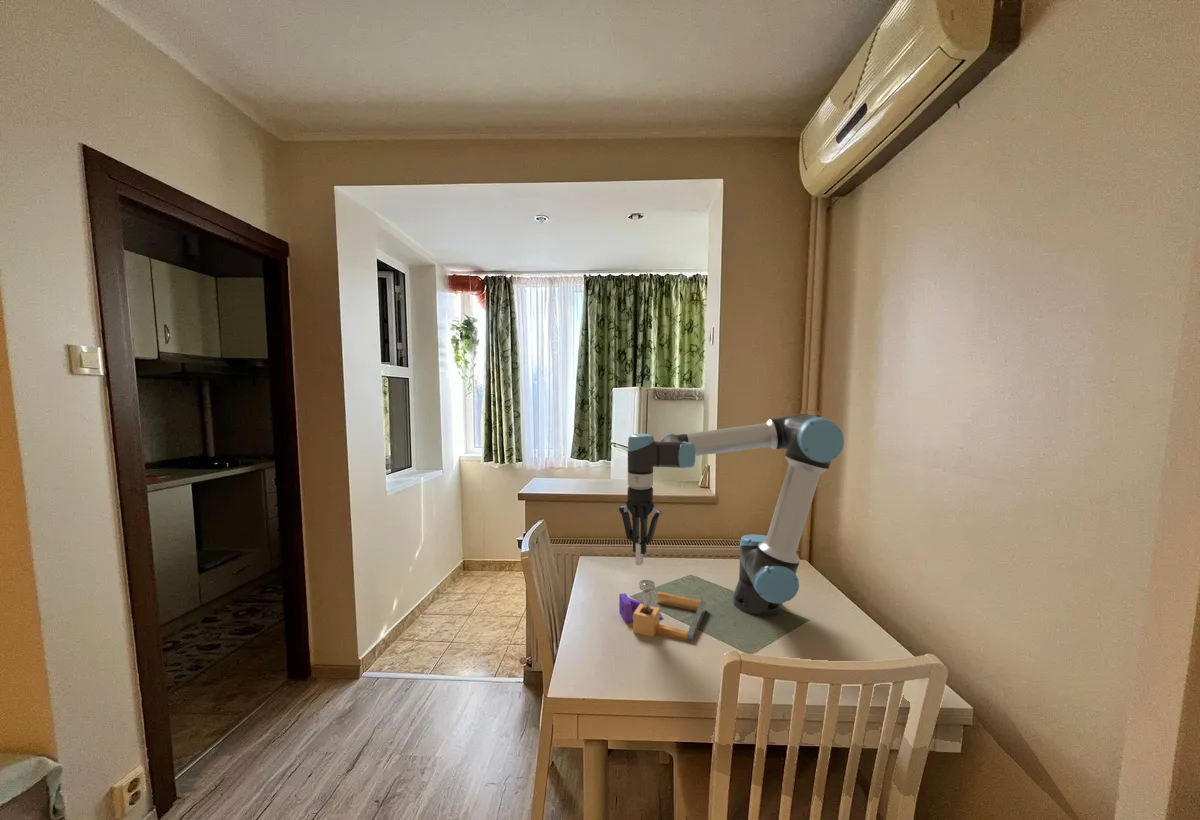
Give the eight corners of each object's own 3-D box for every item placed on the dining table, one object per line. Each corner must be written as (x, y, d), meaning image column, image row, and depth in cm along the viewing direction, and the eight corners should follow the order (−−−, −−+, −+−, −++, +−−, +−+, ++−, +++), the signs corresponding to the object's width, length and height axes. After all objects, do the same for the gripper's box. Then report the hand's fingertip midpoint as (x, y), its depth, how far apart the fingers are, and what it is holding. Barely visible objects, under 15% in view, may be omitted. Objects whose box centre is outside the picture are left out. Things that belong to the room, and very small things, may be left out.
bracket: (624, 627, 130) (625, 605, 130) (619, 614, 137) (619, 593, 136) (663, 622, 133) (663, 601, 132) (655, 610, 139) (656, 590, 139)
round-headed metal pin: (656, 611, 127) (656, 581, 126) (651, 619, 123) (652, 588, 122) (641, 608, 129) (642, 578, 128) (636, 616, 125) (637, 585, 124)
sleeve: (659, 630, 128) (659, 607, 127) (653, 642, 123) (653, 618, 122) (639, 625, 130) (640, 603, 130) (633, 636, 125) (633, 613, 124)
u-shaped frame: (705, 611, 138) (706, 601, 138) (692, 647, 120) (692, 635, 120) (658, 601, 145) (658, 591, 144) (638, 634, 126) (638, 622, 126)
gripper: (614, 486, 129) (614, 564, 131) (657, 491, 123) (656, 572, 125) (624, 481, 135) (624, 554, 137) (665, 485, 130) (664, 562, 132)
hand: (639, 563), depth 131 cm, fingers closed
